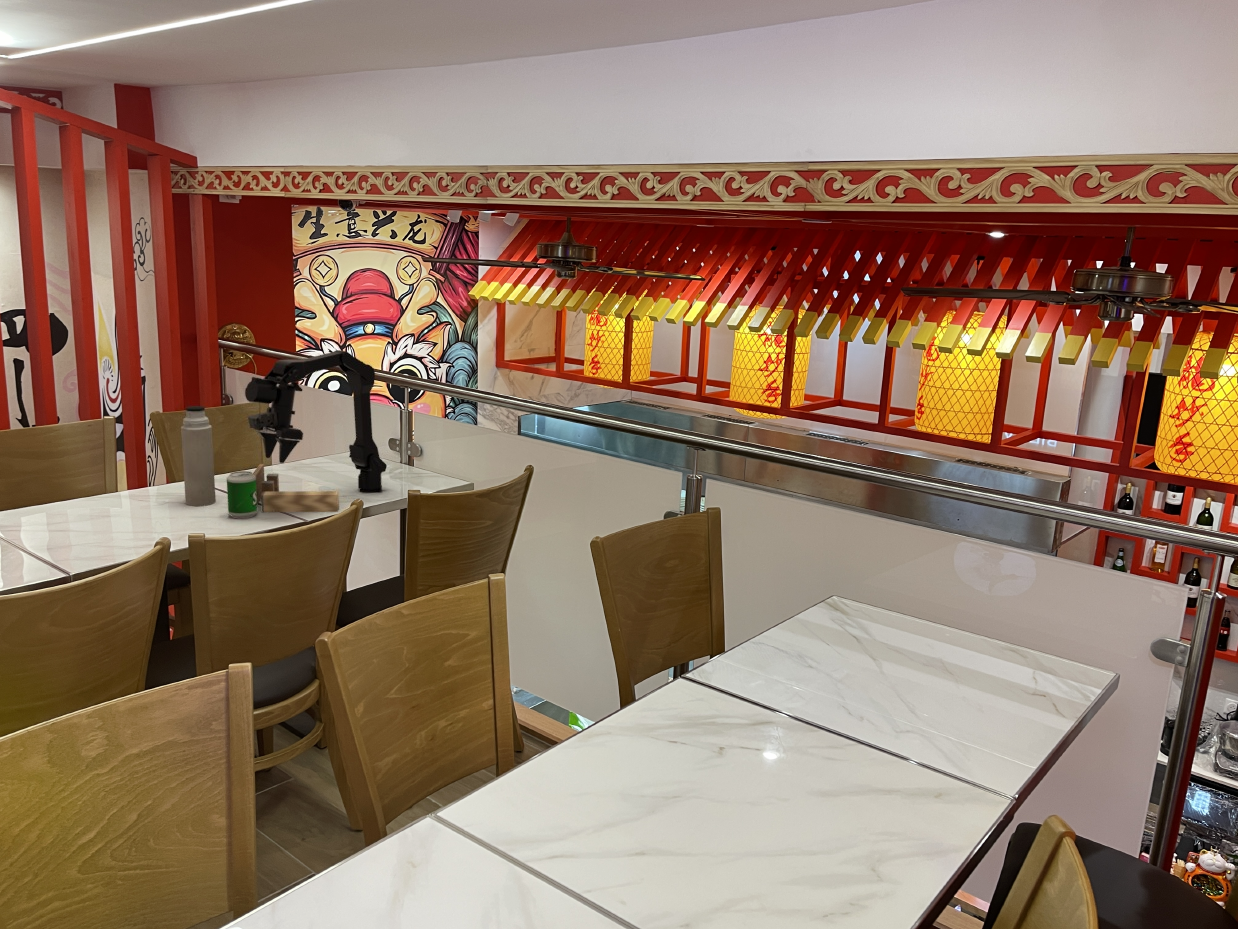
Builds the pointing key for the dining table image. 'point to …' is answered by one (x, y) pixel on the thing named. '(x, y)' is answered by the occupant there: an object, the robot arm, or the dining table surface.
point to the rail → (300, 501)
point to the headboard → (265, 482)
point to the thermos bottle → (198, 458)
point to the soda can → (242, 494)
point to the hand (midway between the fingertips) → (274, 460)
